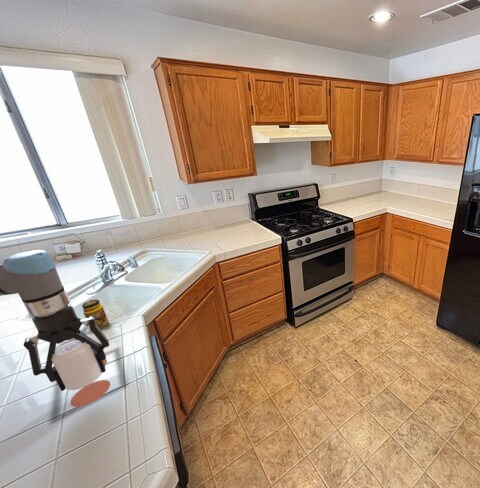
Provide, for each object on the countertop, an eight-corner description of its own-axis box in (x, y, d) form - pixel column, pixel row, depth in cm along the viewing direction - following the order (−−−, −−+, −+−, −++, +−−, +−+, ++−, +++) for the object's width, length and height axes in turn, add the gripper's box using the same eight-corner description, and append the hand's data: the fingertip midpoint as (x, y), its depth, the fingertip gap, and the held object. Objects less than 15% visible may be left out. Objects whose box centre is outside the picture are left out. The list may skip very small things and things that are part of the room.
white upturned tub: (60, 387, 73) (41, 352, 69) (93, 366, 80) (78, 333, 76) (76, 395, 70) (58, 359, 66) (109, 372, 77) (95, 339, 73)
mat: (55, 422, 69) (54, 420, 69) (60, 375, 84) (59, 373, 84) (124, 388, 78) (123, 386, 78) (117, 351, 94) (116, 349, 93)
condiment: (108, 329, 107) (98, 304, 103) (82, 336, 103) (70, 310, 99) (112, 320, 113) (103, 295, 109) (88, 326, 110) (77, 301, 106)
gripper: (-15, 336, 58) (30, 410, 65) (103, 298, 71) (130, 364, 78) (-7, 322, 63) (34, 392, 71) (102, 289, 76) (126, 352, 84)
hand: (84, 378), depth 75 cm, fingers closed on white upturned tub, 8 cm apart
